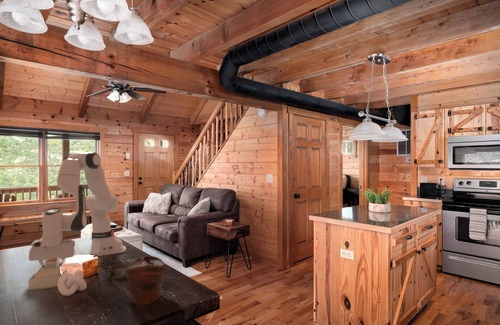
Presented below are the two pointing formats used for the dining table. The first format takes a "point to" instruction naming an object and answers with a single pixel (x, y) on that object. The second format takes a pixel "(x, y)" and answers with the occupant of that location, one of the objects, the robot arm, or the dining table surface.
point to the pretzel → (71, 283)
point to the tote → (43, 281)
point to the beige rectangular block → (48, 273)
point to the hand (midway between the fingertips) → (52, 266)
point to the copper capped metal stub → (52, 263)
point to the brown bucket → (145, 279)
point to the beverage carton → (117, 270)
